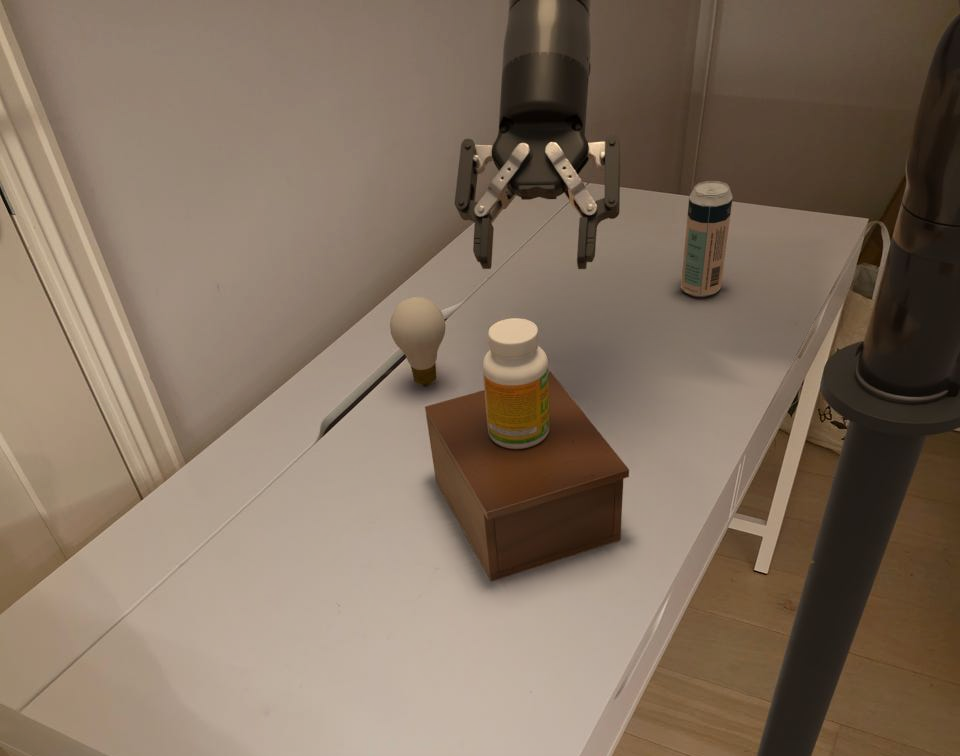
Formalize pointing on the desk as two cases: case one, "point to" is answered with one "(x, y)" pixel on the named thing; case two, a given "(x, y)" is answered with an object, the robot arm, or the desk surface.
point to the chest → (529, 521)
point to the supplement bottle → (516, 385)
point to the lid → (525, 454)
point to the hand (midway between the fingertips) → (533, 266)
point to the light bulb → (419, 335)
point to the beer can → (706, 238)
